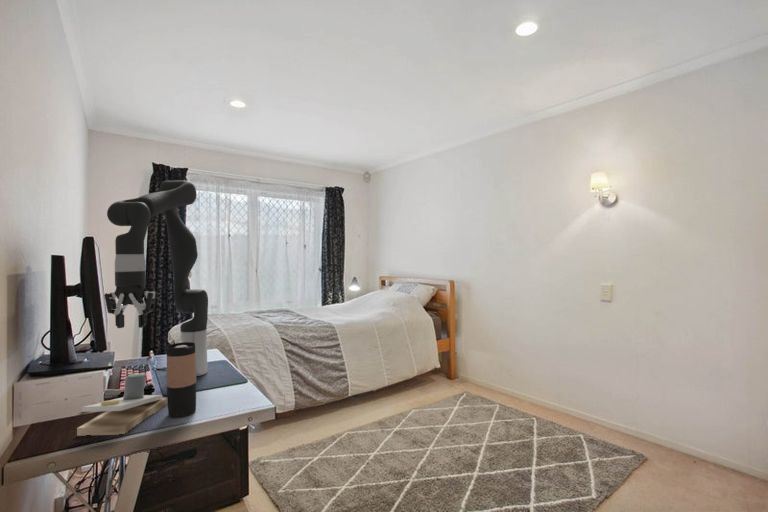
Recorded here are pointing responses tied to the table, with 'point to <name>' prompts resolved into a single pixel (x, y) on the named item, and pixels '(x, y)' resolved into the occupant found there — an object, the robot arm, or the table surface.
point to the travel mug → (181, 379)
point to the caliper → (112, 392)
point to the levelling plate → (122, 404)
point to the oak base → (120, 419)
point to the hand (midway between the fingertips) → (131, 327)
